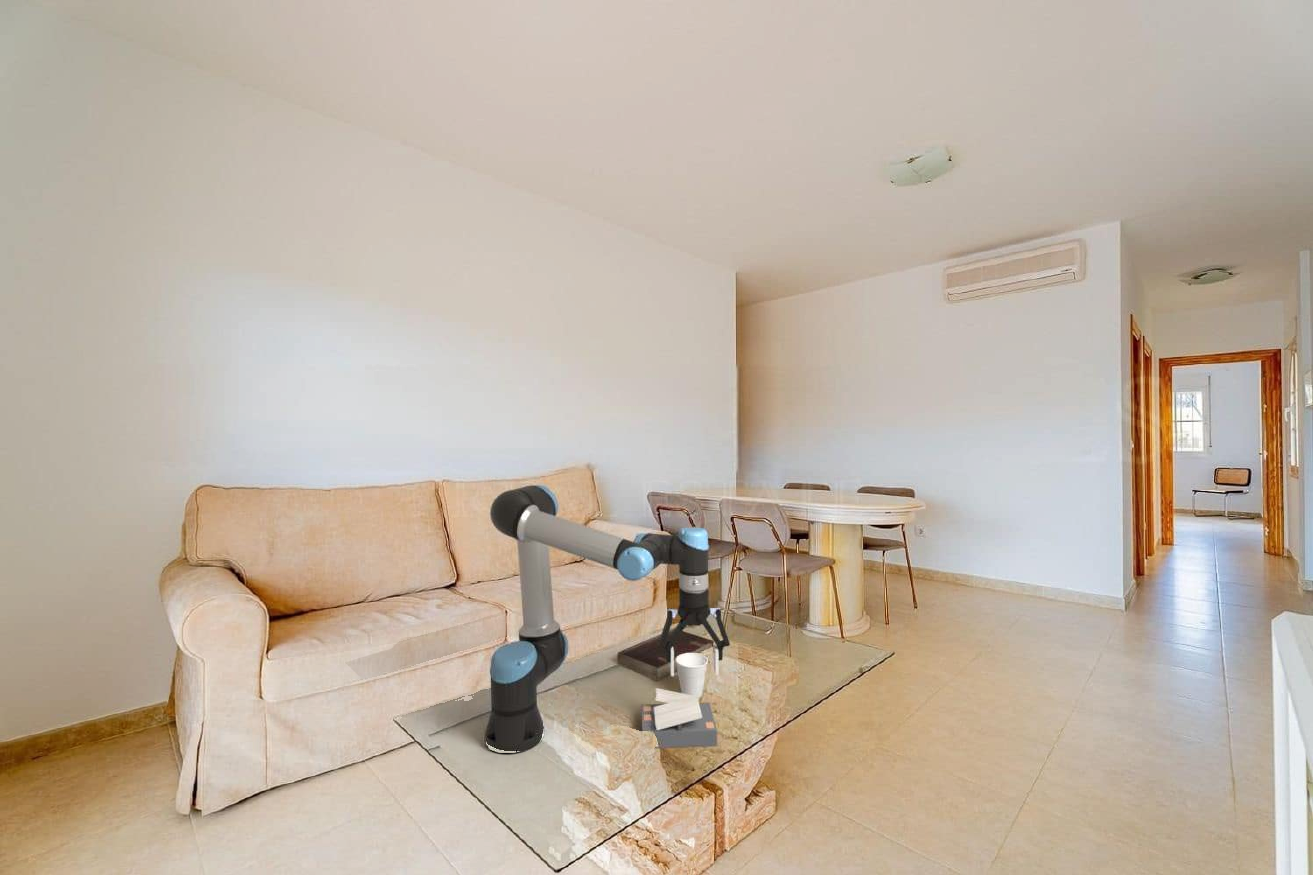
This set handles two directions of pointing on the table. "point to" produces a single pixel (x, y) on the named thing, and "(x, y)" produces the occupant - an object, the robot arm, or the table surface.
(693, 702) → the white block
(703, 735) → the switch unit
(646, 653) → the dark brown tray
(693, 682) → the cup
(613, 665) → the table surface
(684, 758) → the table surface
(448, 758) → the table surface
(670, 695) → the rocker
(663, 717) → the rocker
